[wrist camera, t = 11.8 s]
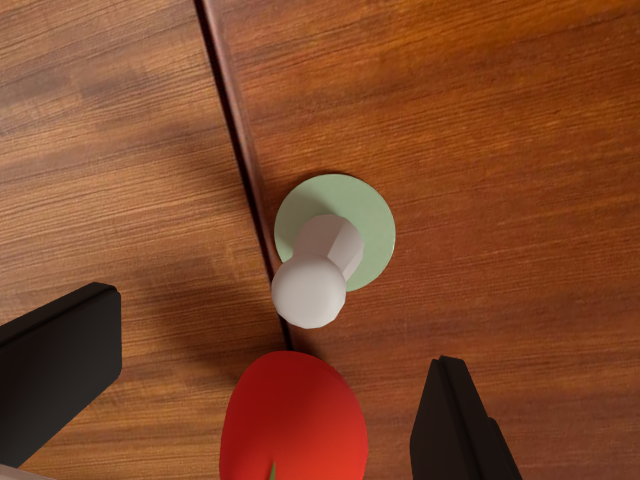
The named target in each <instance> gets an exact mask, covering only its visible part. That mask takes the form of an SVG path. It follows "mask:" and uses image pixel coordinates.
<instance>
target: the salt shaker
mask: <svg viewBox="0 0 640 480" xmlns="http://www.w3.org/2000/svg"><path fill="white" fill-rule="evenodd" d="M363 249H364V242H363V240H362V238H361V235H360V233H359V231H358V229H357V228H356V227H355V226H354V225H353V224H352V223H351V222H350V221H349V220H348V219H347V218H345V217H341V216H337V215H334V214H326V215H318V216H314V217H313V218H312V219H310V220H309V221H307V222H306V223H305V224H303V225H302V227H301V229H300V231H299V233H298V234H297V236H296V239H295V244H294V249H293V254H292V258H290V259H289V260H287V261H286V262H284V263H283V264H282V265H281V266H280V268H279V270H278V271H277V273H276V275H275V277H274V278H273V281H272V301H273V303H274V305H275V307H276V310H277V312H278V314H280V315H281V316H282V317H283V318H284V319H285V320H287V321H288V322H289V323H290V324H293V325H296V326H299V327H302V328H305V329H308V328H318V327H322V326H324V325H325V324H327V323H329V322H331V321H332V320H334V319H335V318H336V316H337V314H338V313H339V311H340V310H341V308H342V306H343V305H344V303H345V295H346V281H347V280H348V279H349V278H350V277H351V276H352V274H353V273H354V272H355V270H356V269H357V267H358V265H359V264H360V262H361V260H362V258H363Z"/></svg>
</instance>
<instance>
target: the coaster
mask: <svg viewBox="0 0 640 480" xmlns="http://www.w3.org/2000/svg"><path fill="white" fill-rule="evenodd" d="M326 214H334V215H337V216H341V217H345V218H347V219H348V220H349V221H350V222H351V223H352V224H353V225H354V226H355V227H356V228H357V229H358V231H359V233H360V235H361V238H362V240H363V242H364V249H363V258H362V260H361V262H360V264H359V265H358V267H357V269H356V270H355V272H354V273H353V274H352V276H351V277H350V278H349V279H348V280H347V281H346V292H348V291H352V290H356V289H358V288H361V287H363V286H365V285H367V284H369V283H370V282H371V281H373V280H374V279H375V278H376V277H377V276H378V275H380V273H381V272H382V271H383V270H384V269H385V267H386V265H387V264H388V262H389V260H390V258H391V256H392V253H393V249H394V245H395V224H394V220H393V216H392V213H391V211H390V209H389V207H388V205H387V203H386V202H385V200H384V199H383V197H382V196H381V195H380V194H379V193H378V192H377V191H376V190H375V189H374V188H373V187H372V186H370V185H369V184H367V183H366V182H364V181H362V180H360V179H358V178H355V177H352V176H349V175H344V174H324V175H319V176H316V177H313V178H310V179H308V180H306V181H304V182H302V183H301V184H299V185H298V186H296V187H295V188H294V189H293V190H292V191H291V192H290V193H289V194H288V195H287V196H286V198H285V199H284V201H283V202H282V204H281V206H280V208H279V210H278V213H277V216H276V220H275V227H274V236H275V244H276V248H277V251H278V254H279V256H280V258H281V260H282V262H283V263H284V262H286V261H287V260H289V259H290V258H292V254H293V249H294V244H295V239H296V236H297V234H298V233H299V231H300V229H301V227H302V225H303V224H305V223H306V222H307V221H309V220H310V219H312V218H313V217H314V216H318V215H326Z"/></svg>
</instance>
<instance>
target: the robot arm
mask: <svg viewBox="0 0 640 480" xmlns="http://www.w3.org/2000/svg"><path fill="white" fill-rule="evenodd" d="M121 369H122V342H121V295H120V293H119V292H117V289H116V287H114V286H112V285H108V284H103V283H98V282H93V283H90V284H88V285H86V286H84V287H81V288H79V289H77V290H75V291H73V292H71V293H69V294H67V295H65V296H62V297H60V298H58V299H56V300H54V301H52V302H50V303H48V304H46V305H44V306H41V307H39V308H37V309H35V310H33V311H31V312H29V313H27V314H25V315H23V316H20V317H18V318H16V319H14V320H12V321H10V322H8V323H6V324H4V325H2V326H0V480H57V479H53V478H49V477H46V476H42V475H38V474H35V473H31V472H27V471H24V470H20V469H17V468H18V467H19V466H21V465H22V464H23V463H24V462H25V461H26V460H27V459H28V458H29V457H31V456H32V455H33V454H34V453H35V452H36V451H37V450H38V449H40V448H41V447H42V446H43V445H44V444H45V443H46V442H47V441H48V440H50V439H51V438H52V437H53V436H54V435H55V434H56V433H57V432H58V431H60V430H61V429H62V428H63V427H64V426H65V425H66V424H67V423H68V422H70V421H71V420H72V419H73V418H74V417H75V416H76V415H77V414H78V413H80V412H81V411H82V410H83V409H84V408H85V407H86V406H87V405H88V404H90V403H91V402H92V401H93V400H94V399H95V398H96V397H97V396H99V395H100V394H101V393H102V392H103V391H104V390H105V389H106V388H107V387H109V386H110V385H111V384H112V383H113V382H114V381H115V380H116V379H117V378H118V376H119V375H120V372H121ZM410 457H411V466H412V474H413V480H523V479H522V477H521V475H520V473H519V470H518V468H517V466H516V464H515V462H514V459H513V457H512V455H511V453H510V450H509V448H508V446H507V444H506V442H505V439H504V437H503V435H502V433H501V431H500V428H499V426H498V424H497V423H496V421H495V420H494V419H493V418H491V417H488V416H487V413H486V411H485V409H484V406H483V404H482V402H481V399H480V397H479V395H478V392H477V390H476V388H475V385H474V383H473V381H472V378H471V376H470V374H469V371H468V369H467V367H466V364H465V362H464V361H463V360H462V359H457V358H452V357H448V356H443V355H442V356H440V358H439V360H436V359H433V360H432V362H431V365H430V368H429V372H428V376H427V379H426V383H425V386H424V390H423V394H422V397H421V401H420V405H419V408H418V412H417V415H416V419H415V423H414V426H413V430H412V434H411V438H410Z"/></svg>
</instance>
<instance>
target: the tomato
mask: <svg viewBox="0 0 640 480" xmlns="http://www.w3.org/2000/svg"><path fill="white" fill-rule="evenodd" d="M367 457H368V440H367V429H366V423H365V420H364V417H363V414H362V411H361V408H360V405H359V402H358V400H357V398H356V396H355V395H354V393H353V391H352V390H351V388H350V387H349V385H348V384H347V382H346V381H345V380H344V379H343V377H342V376H341V375H340V374H339V373H338V372H337V371H336V370H335V369H334V368H333V367H331V366H330V365H328V364H327V363H326V362H324V361H322V360H320V359H318V358H316V357H314V356H311V355H308V354H305V353H300V352H295V351H274V352H270V353H267V354H265V355H263V356H261V357H260V358H258V359H257V360H255V361H254V362H253V363H252V364H251V365H250V366H249V367H248V368H247V369H246V371H245V372H244V373H243V374H242V376H241V378H240V380H239V382H238V384H237V386H236V387H235V389H234V391H233V393H232V395H231V398H230V401H229V404H228V408H227V411H226V416H225V421H224V426H223V431H222V436H221V447H220V460H219V473H220V480H362V478H363V474H364V470H365V466H366V461H367Z"/></svg>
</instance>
